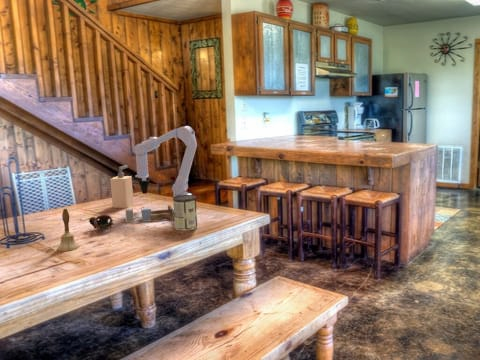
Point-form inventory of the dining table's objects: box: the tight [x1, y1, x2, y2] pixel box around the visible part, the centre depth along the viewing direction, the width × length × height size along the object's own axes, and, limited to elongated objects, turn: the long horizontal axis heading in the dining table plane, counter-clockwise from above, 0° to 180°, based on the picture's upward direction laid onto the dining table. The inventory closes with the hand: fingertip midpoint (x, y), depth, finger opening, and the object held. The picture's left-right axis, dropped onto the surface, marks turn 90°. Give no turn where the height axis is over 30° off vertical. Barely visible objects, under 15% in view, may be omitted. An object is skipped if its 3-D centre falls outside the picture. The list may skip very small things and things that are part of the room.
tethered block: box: [125, 206, 152, 223], centre depth 214 cm, size 12×4×6 cm, turn 106°
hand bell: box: [56, 208, 80, 252], centre depth 174 cm, size 8×8×16 cm
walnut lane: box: [150, 204, 174, 222], centre depth 217 cm, size 10×9×5 cm
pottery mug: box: [88, 214, 115, 234], centre depth 198 cm, size 12×10×8 cm
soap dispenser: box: [109, 164, 134, 209], centre depth 246 cm, size 13×9×22 cm
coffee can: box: [172, 195, 198, 232], centre depth 198 cm, size 10×10×14 cm
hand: (144, 192), depth 232 cm, fingers open, 7 cm apart
